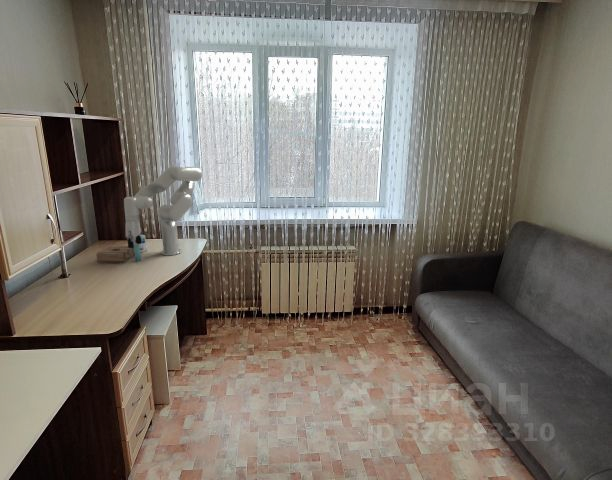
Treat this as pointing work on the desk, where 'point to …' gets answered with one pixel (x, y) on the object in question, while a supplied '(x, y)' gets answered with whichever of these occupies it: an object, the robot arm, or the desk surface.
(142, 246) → the light bulb box
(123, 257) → the walnut socket block
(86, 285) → the desk surface
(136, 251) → the teal peg
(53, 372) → the desk surface
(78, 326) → the desk surface
